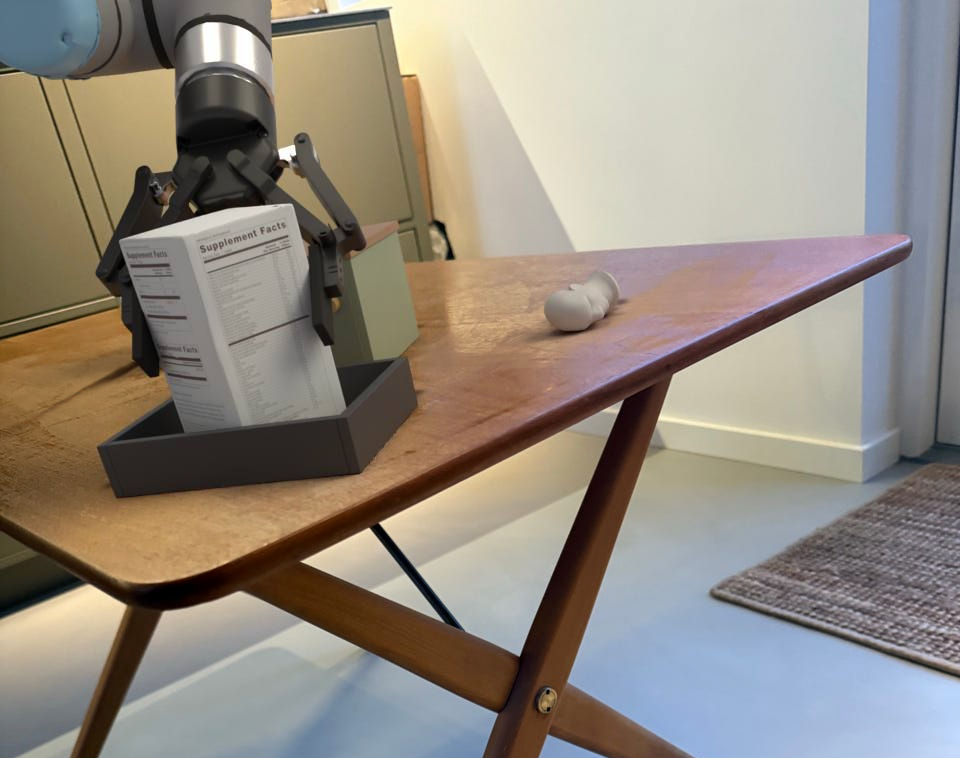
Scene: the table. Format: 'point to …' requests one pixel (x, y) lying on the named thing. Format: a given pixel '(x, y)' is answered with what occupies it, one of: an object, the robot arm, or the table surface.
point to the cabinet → (373, 300)
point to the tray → (263, 439)
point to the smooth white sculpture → (582, 302)
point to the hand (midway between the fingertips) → (233, 352)
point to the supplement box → (234, 318)
